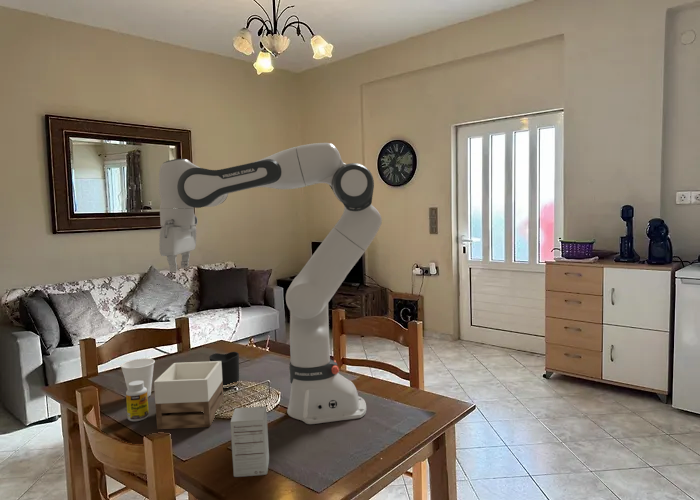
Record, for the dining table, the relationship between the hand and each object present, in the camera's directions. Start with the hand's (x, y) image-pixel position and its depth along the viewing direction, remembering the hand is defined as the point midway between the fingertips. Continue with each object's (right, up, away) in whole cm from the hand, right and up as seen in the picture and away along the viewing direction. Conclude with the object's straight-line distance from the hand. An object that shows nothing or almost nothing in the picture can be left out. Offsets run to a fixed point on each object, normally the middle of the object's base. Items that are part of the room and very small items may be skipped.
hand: (179, 269), depth 135 cm
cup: (-19, -41, +19) cm, 49 cm away
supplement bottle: (-13, -42, +3) cm, 44 cm away
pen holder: (+6, -40, +28) cm, 49 cm away
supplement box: (+25, -44, -26) cm, 56 cm away
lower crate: (+2, -42, +4) cm, 42 cm away
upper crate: (+2, -35, +3) cm, 35 cm away
